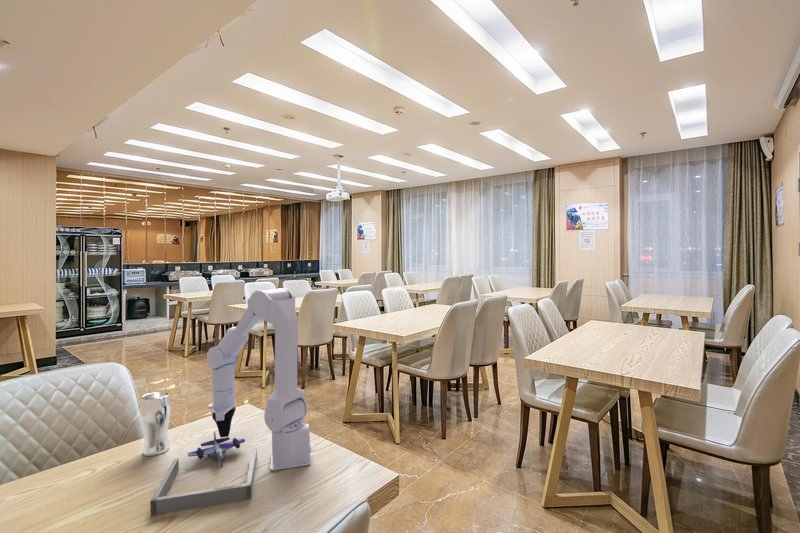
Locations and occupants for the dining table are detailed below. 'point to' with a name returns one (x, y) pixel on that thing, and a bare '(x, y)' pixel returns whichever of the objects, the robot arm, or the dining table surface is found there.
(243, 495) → the airplane jig
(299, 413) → the robot arm
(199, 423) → the dining table surface
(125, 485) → the dining table surface
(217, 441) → the toy airplane
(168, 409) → the silver metal cup
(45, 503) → the dining table surface
